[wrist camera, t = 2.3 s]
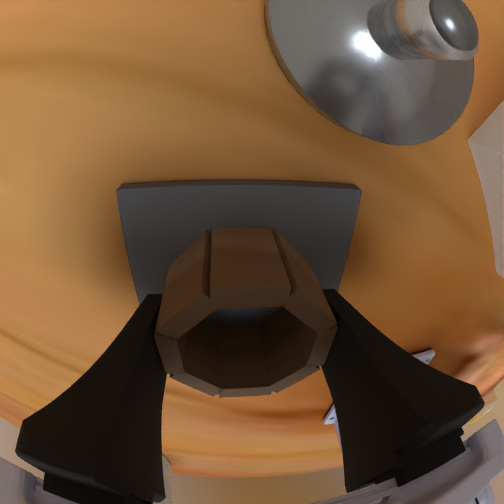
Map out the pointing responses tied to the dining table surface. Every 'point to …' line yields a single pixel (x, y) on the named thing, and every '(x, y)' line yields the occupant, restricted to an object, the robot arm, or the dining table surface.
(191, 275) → the ring
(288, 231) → the mat
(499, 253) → the milk
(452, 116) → the hub
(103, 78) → the dining table surface
